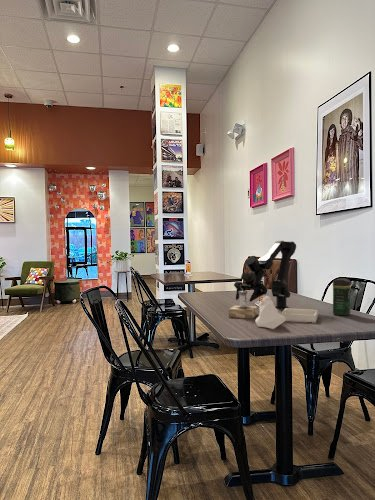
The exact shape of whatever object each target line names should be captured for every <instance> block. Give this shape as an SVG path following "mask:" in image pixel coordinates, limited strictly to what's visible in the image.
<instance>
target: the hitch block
mask: <svg viewBox="0 0 375 500" xmlns="http://www.w3.org/2000/svg"><path fill="white" fill-rule="evenodd" d="M257 315H258V306H255V305H253V306H252V305H247V309H241V308H240V305H233V306H232V307H230V308H229V309H228V318H241V319H242V318H243V319H253V318H255V317H256V316H257Z"/></svg>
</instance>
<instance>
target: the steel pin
mask: <svg viewBox="0 0 375 500" xmlns="http://www.w3.org/2000/svg"><path fill="white" fill-rule="evenodd" d="M247 295H248V291H247V290H245V291H239V299H238V300H239V306H240V308H241V309H247V306H248V304H247V303H248V302H247V297H248V296H247Z"/></svg>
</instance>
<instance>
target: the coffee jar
mask: <svg viewBox="0 0 375 500" xmlns="http://www.w3.org/2000/svg"><path fill="white" fill-rule="evenodd" d="M332 314H333V315H337V316H339V315H342V316H349V315H350V314H351V281H350V279H348V278H345V277H344V278H343V277H340V278H336V279H334V280H332Z"/></svg>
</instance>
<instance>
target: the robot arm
mask: <svg viewBox="0 0 375 500" xmlns="http://www.w3.org/2000/svg"><path fill="white" fill-rule="evenodd" d="M296 250H297V244H296V243H295V242H294V241H284V240H276V241H275V242H274V244H273V245H272V247H271V248H270V249H269V251H268V252H267V253H266V254H264V256H261V257H259V259H258V258H257V257H256V255H251V257H248V258H247V259H245V261H244V263H245V265H246V266H247V269H248V270H249V271H250V272H251V273H248V272H242V273H241V276H240V279H241V280H243V282H244V283H245V284H244V283H243V282H242V281H235V282H234V284H233V286H234V288H235V289H236V292H235V293H236V294H235V300H236V301H238V300H239V291H247V290H251V291H253V292H252V293H251V295H250V297H249V299H248V301H249V302H250V303H252V302H253V301H255V300H256V299H258V298H260V297H261V296H263V297H264V295H265V296H267V293H268V288H267V287H266V285H265V284H264V283H262V280H263V278H267V271H269V270H271V268H272V266H273V264H274V260H275V259H276V258H277V256H278V254H279V253H281V259H280V263H279V268H278V273H277V277H276V279H274V280H272V283H271V286H270V288H271V289H270V290H271V293H272V294H271V295H272V297H274V298H275V299H276V300H275V303H276V304H275V305H276V306H274V307H275V308H276V309H285V308H288V307H289V306H288V305H287V304H288V302H287V299H288V298H290V297H291V292H290V291H289V289H288V283H287V276H288V271H289V267H290V262H291V257H292V256H293V255H294V254H295V252H296ZM265 270H266V271H265Z"/></svg>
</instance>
